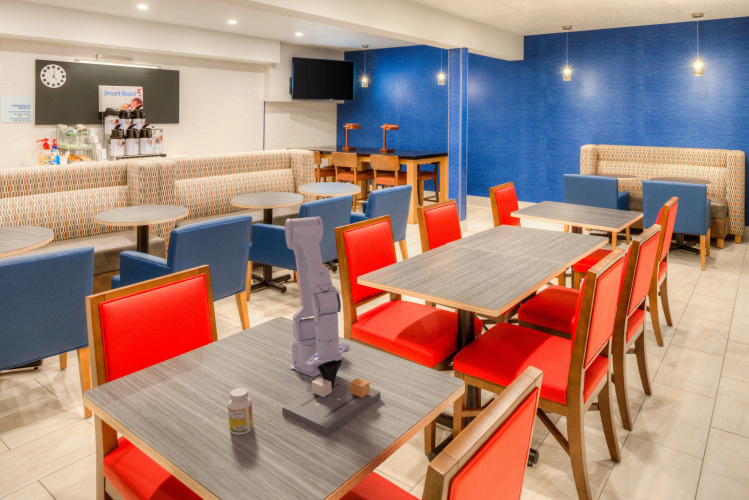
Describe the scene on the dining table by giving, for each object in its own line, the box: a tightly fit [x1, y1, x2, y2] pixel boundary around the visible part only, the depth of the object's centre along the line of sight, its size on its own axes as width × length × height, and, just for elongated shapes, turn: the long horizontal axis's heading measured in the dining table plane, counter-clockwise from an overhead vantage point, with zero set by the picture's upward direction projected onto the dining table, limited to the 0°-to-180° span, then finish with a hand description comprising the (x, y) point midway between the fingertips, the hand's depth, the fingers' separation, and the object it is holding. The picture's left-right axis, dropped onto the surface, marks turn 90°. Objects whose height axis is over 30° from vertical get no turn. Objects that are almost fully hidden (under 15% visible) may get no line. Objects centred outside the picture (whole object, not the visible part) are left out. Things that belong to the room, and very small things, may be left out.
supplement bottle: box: [227, 387, 254, 436], centre depth 122 cm, size 5×5×10 cm
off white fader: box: [311, 376, 332, 397], centre depth 134 cm, size 4×3×3 cm
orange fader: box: [350, 377, 370, 398], centre depth 133 cm, size 4×3×3 cm
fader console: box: [281, 375, 381, 436], centre depth 132 cm, size 15×20×2 cm
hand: (329, 385), depth 136 cm, fingers closed
